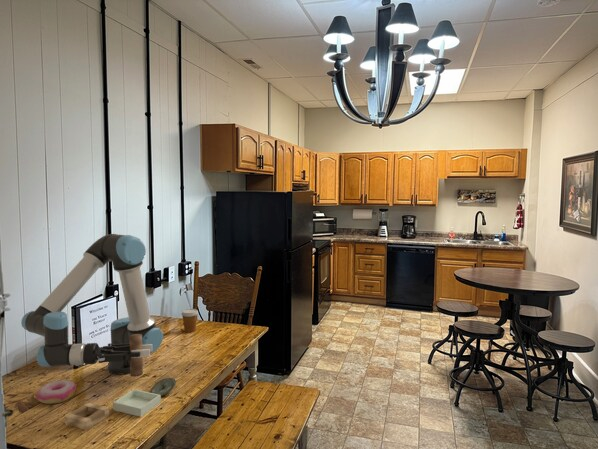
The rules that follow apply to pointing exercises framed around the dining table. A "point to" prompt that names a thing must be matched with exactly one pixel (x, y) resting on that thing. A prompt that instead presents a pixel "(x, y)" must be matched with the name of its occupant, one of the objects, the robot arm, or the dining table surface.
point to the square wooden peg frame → (85, 423)
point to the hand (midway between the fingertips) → (150, 350)
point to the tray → (137, 402)
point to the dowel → (136, 363)
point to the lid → (163, 386)
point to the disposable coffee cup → (189, 320)
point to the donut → (56, 392)
